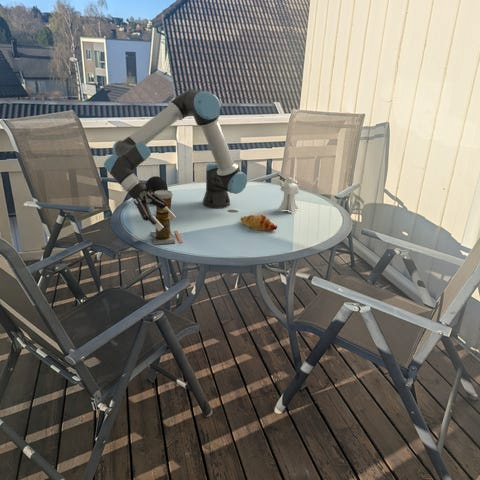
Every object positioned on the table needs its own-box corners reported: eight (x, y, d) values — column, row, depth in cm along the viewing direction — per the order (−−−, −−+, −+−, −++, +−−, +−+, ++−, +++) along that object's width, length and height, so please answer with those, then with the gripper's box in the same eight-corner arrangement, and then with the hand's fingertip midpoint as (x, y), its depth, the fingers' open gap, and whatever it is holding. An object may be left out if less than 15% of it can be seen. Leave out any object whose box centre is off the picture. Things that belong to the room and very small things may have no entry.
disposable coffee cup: (169, 219, 205) (168, 195, 200) (151, 217, 206) (150, 193, 202) (175, 213, 213) (175, 190, 209) (158, 211, 215) (157, 189, 211)
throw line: (177, 231, 190) (177, 230, 190) (182, 242, 177) (182, 242, 177) (174, 231, 189) (174, 230, 189) (179, 243, 177) (179, 242, 177)
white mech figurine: (285, 215, 217) (287, 182, 210) (273, 208, 228) (275, 176, 221) (304, 213, 222) (307, 180, 215) (291, 206, 233) (294, 174, 226)
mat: (170, 231, 189) (170, 230, 189) (175, 243, 177) (175, 242, 176) (150, 233, 186) (150, 232, 186) (154, 245, 174) (154, 243, 174)
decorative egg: (172, 203, 228) (172, 177, 223) (153, 207, 220) (152, 180, 214) (159, 198, 236) (158, 172, 231) (141, 202, 228) (139, 175, 222)
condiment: (168, 233, 186) (167, 207, 181) (174, 239, 179) (173, 213, 174) (152, 235, 183) (151, 209, 178) (157, 242, 176) (156, 215, 171)
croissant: (236, 230, 204) (232, 218, 199) (247, 216, 209) (243, 205, 204) (273, 240, 193) (270, 227, 188) (283, 225, 198) (280, 213, 193)
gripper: (141, 185, 189) (173, 219, 191) (114, 200, 166) (150, 239, 169) (152, 175, 186) (184, 210, 188) (125, 188, 163) (161, 228, 166)
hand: (168, 224), depth 178 cm, fingers open, 13 cm apart
